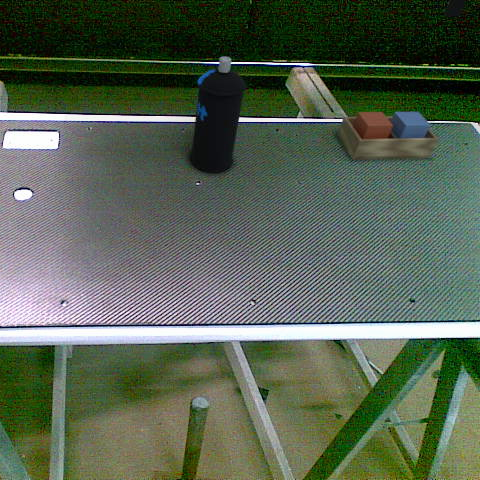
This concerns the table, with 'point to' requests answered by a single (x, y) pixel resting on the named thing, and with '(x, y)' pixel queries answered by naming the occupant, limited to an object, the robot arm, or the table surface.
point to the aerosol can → (217, 118)
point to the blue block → (409, 125)
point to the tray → (384, 144)
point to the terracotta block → (372, 125)
